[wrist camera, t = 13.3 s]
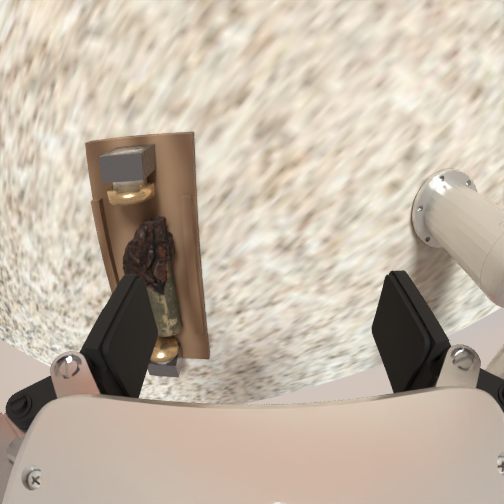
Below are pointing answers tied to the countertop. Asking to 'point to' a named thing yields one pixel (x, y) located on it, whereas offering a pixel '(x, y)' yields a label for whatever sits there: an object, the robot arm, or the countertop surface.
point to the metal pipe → (156, 272)
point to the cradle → (161, 204)
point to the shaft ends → (132, 192)
